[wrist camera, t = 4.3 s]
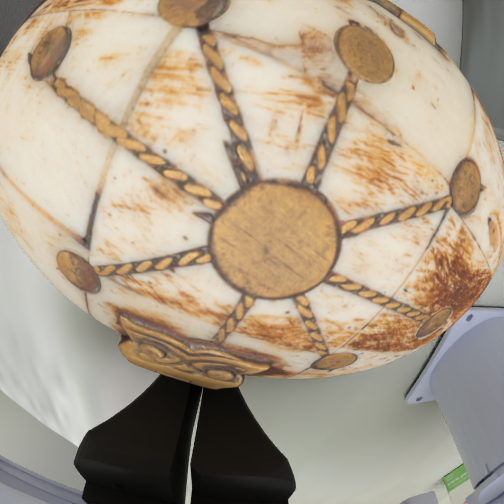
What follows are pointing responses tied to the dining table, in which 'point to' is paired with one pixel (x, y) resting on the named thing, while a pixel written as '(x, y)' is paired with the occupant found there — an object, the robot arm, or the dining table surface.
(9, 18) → the bookend
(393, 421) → the dining table surface
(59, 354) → the dining table surface
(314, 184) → the trinket box
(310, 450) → the dining table surface
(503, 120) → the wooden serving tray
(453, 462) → the dining table surface
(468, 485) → the ink box
